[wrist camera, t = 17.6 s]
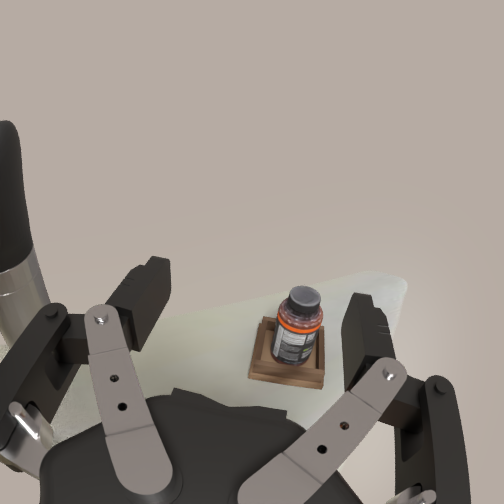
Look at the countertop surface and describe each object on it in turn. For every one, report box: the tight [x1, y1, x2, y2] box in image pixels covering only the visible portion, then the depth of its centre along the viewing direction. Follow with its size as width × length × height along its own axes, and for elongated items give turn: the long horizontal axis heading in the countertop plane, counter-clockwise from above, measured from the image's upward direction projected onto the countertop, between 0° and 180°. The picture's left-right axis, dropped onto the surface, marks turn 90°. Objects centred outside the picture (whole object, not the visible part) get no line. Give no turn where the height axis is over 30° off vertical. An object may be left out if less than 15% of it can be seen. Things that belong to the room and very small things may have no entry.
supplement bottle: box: [271, 286, 323, 366], centre depth 42 cm, size 6×6×11 cm
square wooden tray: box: [248, 316, 325, 389], centre depth 45 cm, size 10×10×3 cm
